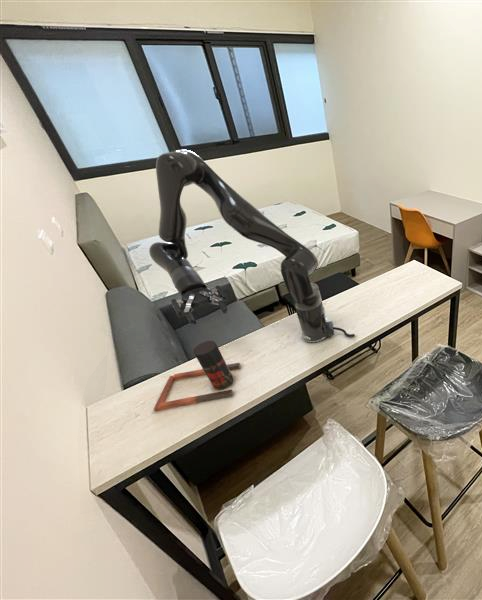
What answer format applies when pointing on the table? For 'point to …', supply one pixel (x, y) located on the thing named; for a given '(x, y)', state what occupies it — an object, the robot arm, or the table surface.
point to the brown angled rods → (191, 400)
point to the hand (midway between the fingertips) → (210, 317)
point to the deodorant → (213, 365)
